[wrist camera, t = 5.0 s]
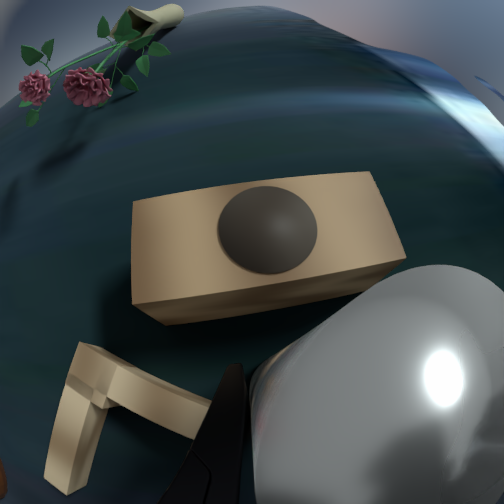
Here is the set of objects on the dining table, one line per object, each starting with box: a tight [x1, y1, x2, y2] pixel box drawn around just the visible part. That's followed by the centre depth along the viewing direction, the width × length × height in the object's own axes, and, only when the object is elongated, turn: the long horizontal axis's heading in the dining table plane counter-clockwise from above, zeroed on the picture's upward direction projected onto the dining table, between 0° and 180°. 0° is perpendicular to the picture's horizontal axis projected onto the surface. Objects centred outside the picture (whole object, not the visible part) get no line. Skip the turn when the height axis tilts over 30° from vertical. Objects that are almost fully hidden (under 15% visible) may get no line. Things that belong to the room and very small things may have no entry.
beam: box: [131, 172, 406, 326], centre depth 14 cm, size 12×5×5 cm, turn 100°
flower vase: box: [19, 4, 184, 127], centre depth 24 cm, size 12×12×35 cm
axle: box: [249, 265, 504, 504], centre depth 8 cm, size 4×4×13 cm
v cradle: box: [44, 342, 212, 495], centre depth 12 cm, size 8×14×2 cm, turn 116°
